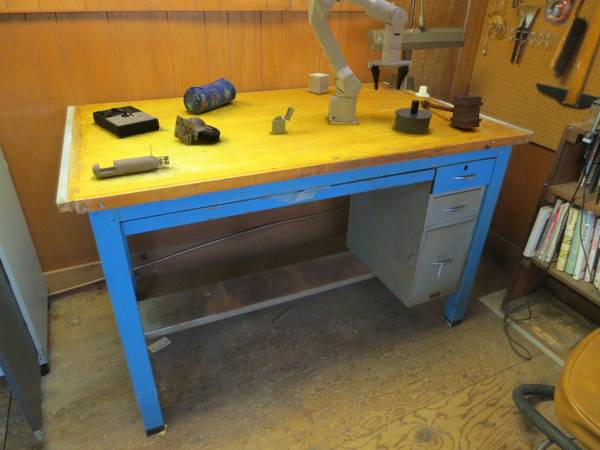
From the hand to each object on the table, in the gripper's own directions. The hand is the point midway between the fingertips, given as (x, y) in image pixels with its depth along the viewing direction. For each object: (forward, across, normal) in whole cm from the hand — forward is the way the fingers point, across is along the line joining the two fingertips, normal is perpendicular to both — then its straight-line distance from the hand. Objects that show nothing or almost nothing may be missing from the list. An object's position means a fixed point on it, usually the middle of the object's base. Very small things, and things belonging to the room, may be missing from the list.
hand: (386, 89), depth 146 cm
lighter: (+10, -37, -16) cm, 41 cm away
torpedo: (+9, -75, -48) cm, 89 cm away
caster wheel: (+9, -62, -24) cm, 67 cm away
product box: (+10, -20, +38) cm, 44 cm away
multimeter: (+9, -87, -12) cm, 88 cm away
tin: (+10, +6, -13) cm, 18 cm away
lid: (+5, +6, -13) cm, 15 cm away
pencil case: (+9, -63, +11) cm, 64 cm away
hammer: (+11, +23, +2) cm, 26 cm away
